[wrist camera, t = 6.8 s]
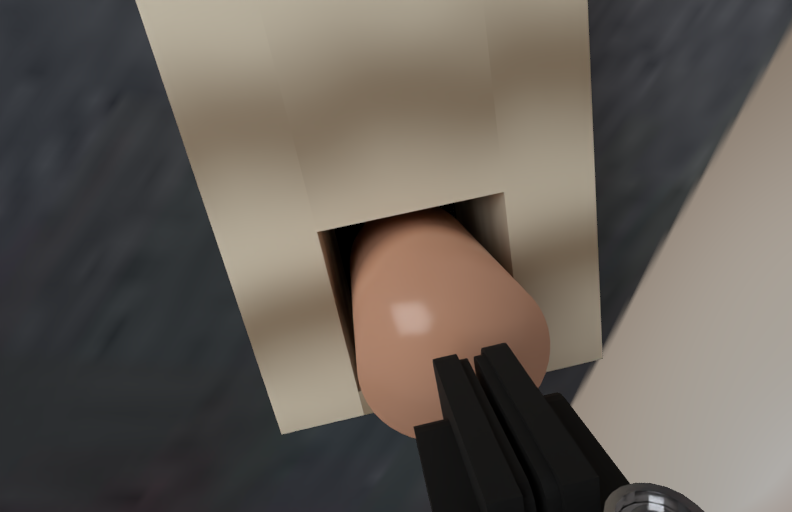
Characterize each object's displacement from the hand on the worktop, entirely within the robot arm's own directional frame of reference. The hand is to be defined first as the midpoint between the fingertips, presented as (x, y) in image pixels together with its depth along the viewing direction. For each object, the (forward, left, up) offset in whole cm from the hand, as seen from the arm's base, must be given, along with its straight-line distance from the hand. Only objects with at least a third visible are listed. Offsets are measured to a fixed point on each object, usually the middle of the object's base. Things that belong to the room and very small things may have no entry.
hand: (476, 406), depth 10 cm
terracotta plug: (0, 0, -9) cm, 9 cm away
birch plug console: (-7, 0, -14) cm, 15 cm away
